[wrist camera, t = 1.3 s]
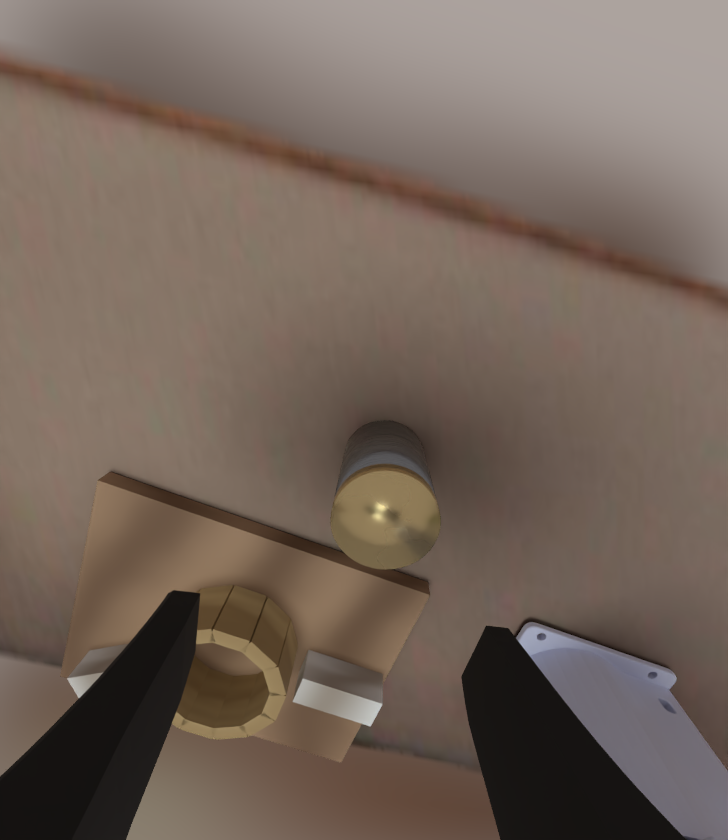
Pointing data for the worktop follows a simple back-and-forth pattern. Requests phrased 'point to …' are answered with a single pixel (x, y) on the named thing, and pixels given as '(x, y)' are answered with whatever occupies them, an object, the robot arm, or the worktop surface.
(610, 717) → the robot arm
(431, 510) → the cylinder
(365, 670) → the shaft board
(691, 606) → the worktop surface
